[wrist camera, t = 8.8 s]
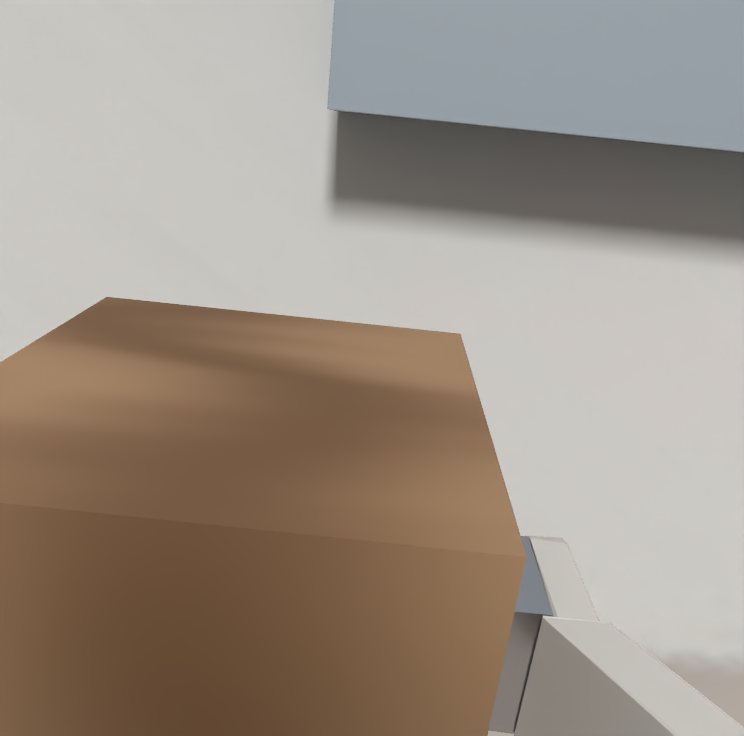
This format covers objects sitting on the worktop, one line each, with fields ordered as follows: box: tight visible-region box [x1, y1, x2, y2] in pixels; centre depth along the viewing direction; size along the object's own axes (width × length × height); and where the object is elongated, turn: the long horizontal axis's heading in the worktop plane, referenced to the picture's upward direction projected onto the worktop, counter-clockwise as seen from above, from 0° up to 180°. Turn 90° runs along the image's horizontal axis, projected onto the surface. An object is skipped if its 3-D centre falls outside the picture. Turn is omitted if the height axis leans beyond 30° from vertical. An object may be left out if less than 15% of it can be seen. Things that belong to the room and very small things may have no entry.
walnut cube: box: [0, 297, 527, 736], centre depth 8 cm, size 6×6×6 cm
